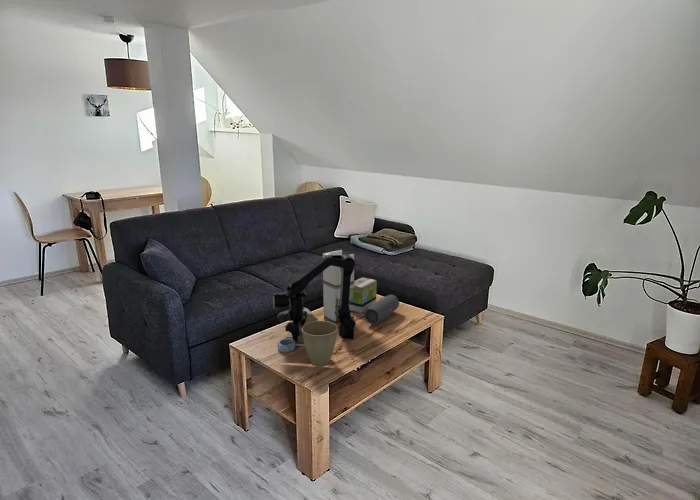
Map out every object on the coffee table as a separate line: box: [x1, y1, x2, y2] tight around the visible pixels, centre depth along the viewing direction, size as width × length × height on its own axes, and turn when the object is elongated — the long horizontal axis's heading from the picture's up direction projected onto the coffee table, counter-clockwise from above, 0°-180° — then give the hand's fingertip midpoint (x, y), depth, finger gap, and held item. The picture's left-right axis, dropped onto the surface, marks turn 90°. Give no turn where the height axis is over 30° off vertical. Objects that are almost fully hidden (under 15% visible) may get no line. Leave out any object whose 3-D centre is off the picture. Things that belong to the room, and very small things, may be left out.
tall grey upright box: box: [322, 249, 355, 325], centre depth 236 cm, size 11×11×35 cm
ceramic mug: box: [303, 307, 320, 325], centre depth 235 cm, size 11×8×8 cm
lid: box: [285, 332, 304, 344], centre depth 215 cm, size 9×6×4 cm
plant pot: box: [302, 320, 339, 368], centre depth 196 cm, size 15×15×16 cm
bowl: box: [277, 337, 296, 353], centre depth 208 cm, size 7×7×4 cm
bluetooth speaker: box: [364, 294, 400, 325], centre depth 241 cm, size 23×9×10 cm, turn 148°
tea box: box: [349, 276, 378, 314], centre depth 255 cm, size 15×10×15 cm
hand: (297, 338), depth 215 cm, fingers open, 7 cm apart
